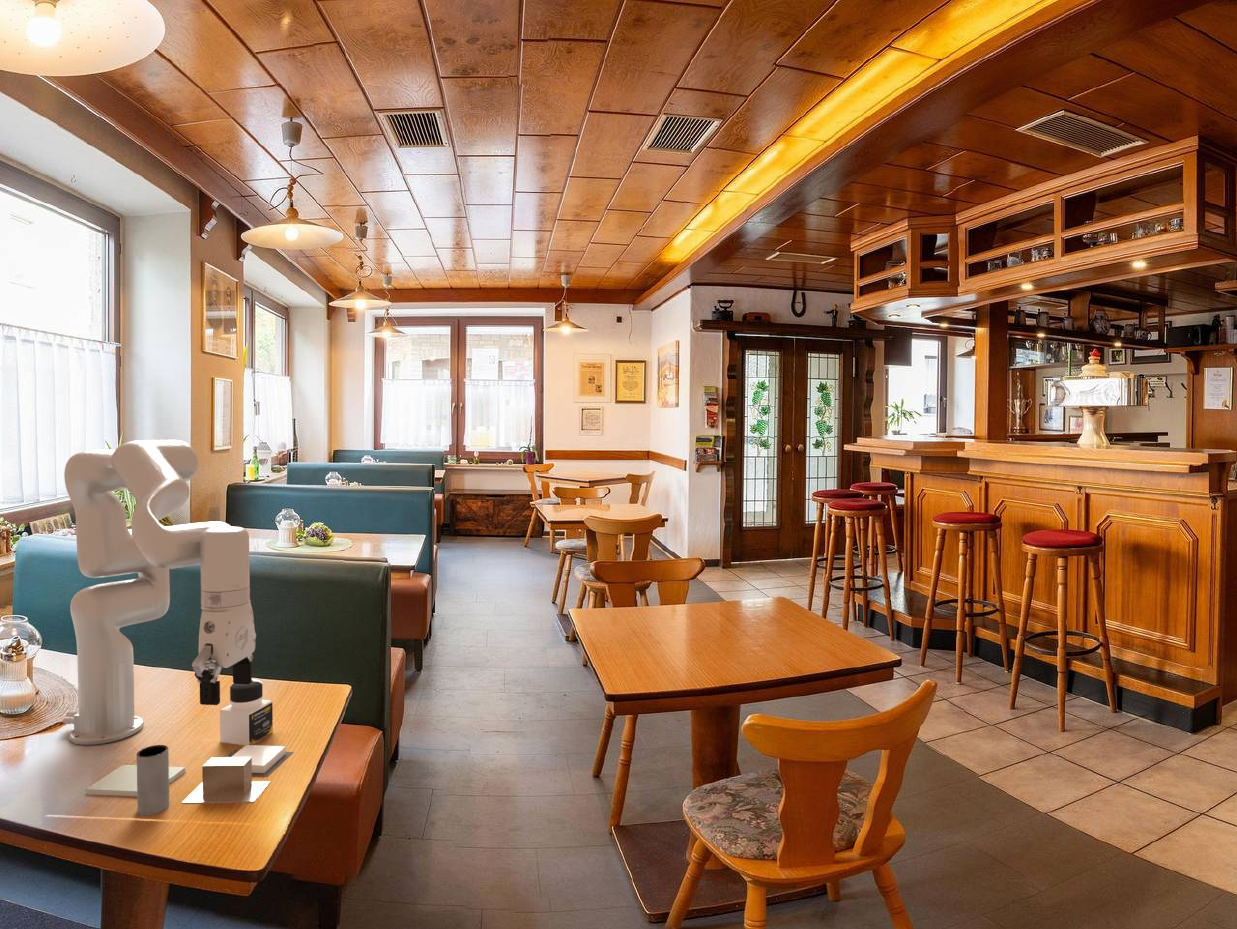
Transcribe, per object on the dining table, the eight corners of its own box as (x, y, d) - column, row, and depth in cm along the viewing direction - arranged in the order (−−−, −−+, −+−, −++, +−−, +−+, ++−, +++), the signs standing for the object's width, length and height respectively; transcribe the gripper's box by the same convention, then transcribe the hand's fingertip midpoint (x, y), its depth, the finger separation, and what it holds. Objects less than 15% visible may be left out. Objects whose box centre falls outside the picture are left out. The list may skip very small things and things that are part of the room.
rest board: (85, 795, 126) (85, 789, 126) (123, 771, 135) (123, 764, 135) (152, 798, 125) (152, 791, 125) (185, 773, 134) (185, 767, 134)
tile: (222, 763, 135) (264, 765, 134) (246, 744, 142) (285, 746, 142) (222, 772, 135) (264, 773, 134) (246, 752, 143) (285, 754, 142)
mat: (204, 775, 134) (204, 774, 134) (235, 751, 144) (235, 749, 144) (267, 778, 133) (267, 776, 133) (293, 753, 143) (293, 752, 143)
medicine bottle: (249, 747, 146) (249, 689, 145) (219, 743, 147) (218, 686, 146) (273, 732, 152) (273, 677, 152) (244, 729, 154) (243, 674, 153)
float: (182, 807, 124) (181, 771, 123) (202, 786, 130) (202, 752, 130) (254, 805, 124) (253, 770, 124) (270, 785, 131) (270, 752, 131)
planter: (147, 802, 124) (146, 744, 123) (174, 802, 124) (173, 744, 124) (131, 817, 119) (130, 757, 119) (160, 816, 120) (159, 756, 119)
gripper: (217, 611, 117) (218, 714, 118) (272, 587, 134) (273, 677, 135) (172, 609, 117) (173, 712, 118) (233, 586, 134) (234, 675, 135)
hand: (226, 693), depth 126 cm, fingers open, 9 cm apart
